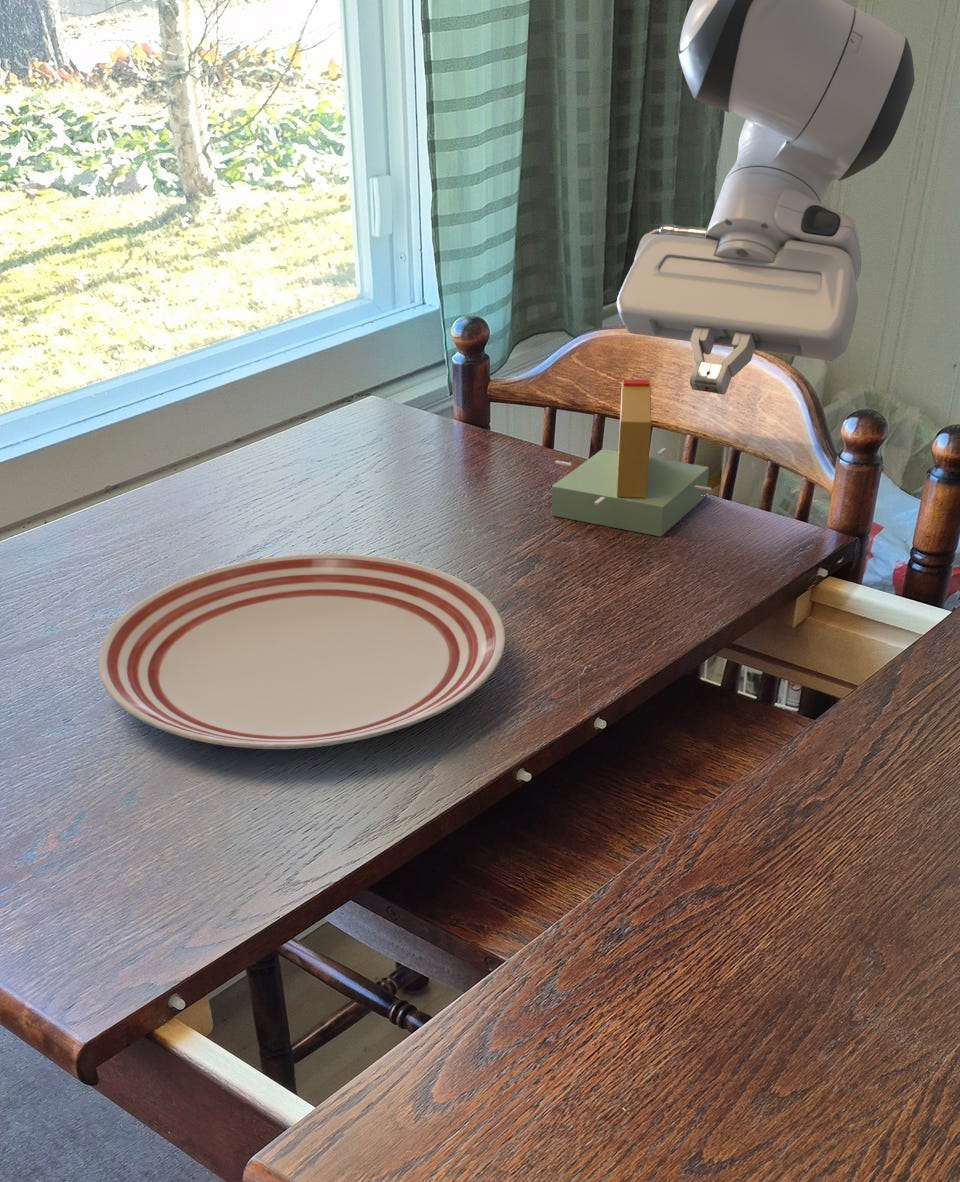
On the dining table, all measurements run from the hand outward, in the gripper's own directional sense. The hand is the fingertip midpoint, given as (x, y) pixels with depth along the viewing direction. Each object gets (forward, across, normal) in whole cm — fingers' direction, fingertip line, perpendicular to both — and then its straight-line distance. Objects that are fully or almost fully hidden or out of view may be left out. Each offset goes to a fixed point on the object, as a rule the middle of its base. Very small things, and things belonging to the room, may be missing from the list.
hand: (706, 388), depth 121 cm
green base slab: (+11, -3, 0) cm, 12 cm away
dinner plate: (+39, -10, -28) cm, 49 cm away
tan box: (+9, -3, -2) cm, 10 cm away
